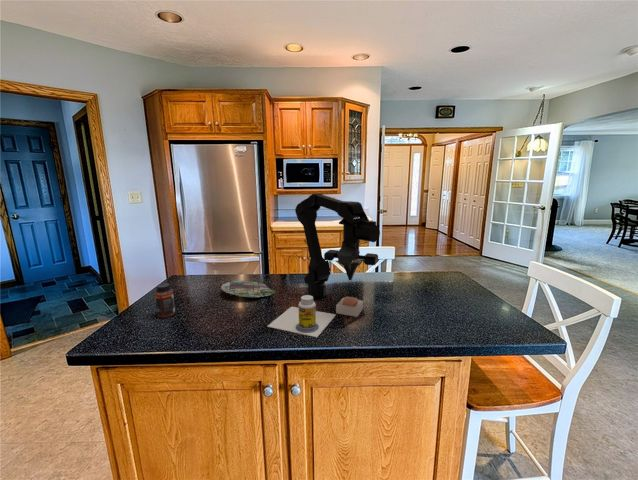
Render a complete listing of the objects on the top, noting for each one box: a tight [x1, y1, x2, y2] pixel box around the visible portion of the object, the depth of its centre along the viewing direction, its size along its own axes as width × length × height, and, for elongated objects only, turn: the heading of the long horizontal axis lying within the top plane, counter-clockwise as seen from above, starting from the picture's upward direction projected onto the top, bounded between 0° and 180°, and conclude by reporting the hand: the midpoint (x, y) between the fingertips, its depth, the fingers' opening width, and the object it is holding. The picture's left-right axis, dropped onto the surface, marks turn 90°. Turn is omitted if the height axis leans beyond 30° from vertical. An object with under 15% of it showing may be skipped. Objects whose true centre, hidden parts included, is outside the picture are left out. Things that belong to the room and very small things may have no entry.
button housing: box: [335, 297, 364, 318], centre depth 111 cm, size 8×8×3 cm
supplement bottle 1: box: [154, 283, 176, 319], centre depth 108 cm, size 6×6×11 cm
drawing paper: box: [267, 306, 337, 338], centre depth 104 cm, size 18×17×1 cm
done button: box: [343, 296, 358, 307], centre depth 111 cm, size 4×4×2 cm
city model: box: [220, 280, 276, 298], centre depth 130 cm, size 25×23×6 cm
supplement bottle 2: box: [298, 294, 317, 330], centre depth 98 cm, size 6×6×10 cm
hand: (350, 280), depth 109 cm, fingers closed
